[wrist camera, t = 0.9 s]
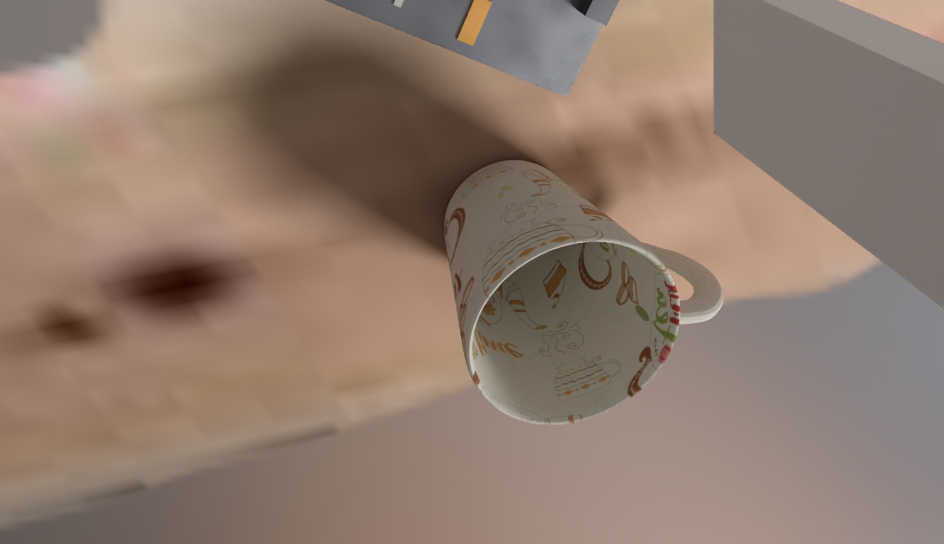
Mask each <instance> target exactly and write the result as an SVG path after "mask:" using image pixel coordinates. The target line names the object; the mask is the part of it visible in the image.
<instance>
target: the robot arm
mask: <svg viewBox="0 0 944 544" xmlns="http://www.w3.org/2000/svg"><path fill="white" fill-rule="evenodd" d="M714 133H715V134H716V135H717V136H719V137H720V138H721V139H723V140H724V141H725V142H727V143H728V144H729V145H731V146H732V147H733V148H734V149H736V150H737V151H738V152H740V153H741V154H742V155H744V156H745V157H746V158H747V159H749V160H750V161H751V162H753V163H754V164H755V165H757V166H758V167H759V168H761V169H762V170H763V171H764V172H766V173H767V174H768V175H770V176H771V177H772V178H774V179H775V180H776V181H778V182H779V183H780V184H781V185H783V186H784V187H785V188H787V189H788V190H789V191H791V192H792V193H793V194H795V195H796V196H797V197H798V198H800V199H801V200H802V201H804V202H805V203H806V204H808V205H809V206H810V207H812V208H813V209H814V210H815V211H817V212H818V213H819V214H821V215H822V216H823V217H825V218H826V219H827V220H828V221H830V222H831V223H832V224H834V225H835V226H836V227H838V228H839V229H840V230H842V231H843V232H844V233H845V234H847V235H848V236H849V237H851V238H852V239H853V240H855V241H856V242H857V243H859V244H860V245H861V246H862V247H864V248H865V249H866V250H868V251H869V252H870V253H872V254H873V255H874V256H876V257H877V258H878V259H879V260H881V261H882V262H883V263H885V264H886V265H887V266H889V267H890V268H891V269H893V270H894V271H895V272H897V273H898V274H899V275H900V276H902V277H903V278H904V279H906V280H907V281H908V282H909V283H911V284H912V285H914V286H915V287H916V288H918V289H919V290H920V291H921V292H923V293H924V294H925V295H926V296H928V297H929V298H930V299H932V300H933V301H935V302H936V303H937V304H938V305H940V306H941V307H942V308H943V309H944V43H941V42H939V41H936V40H934V39H931V38H929V37H926V36H924V35H921V34H919V33H916V32H914V31H911V30H909V29H906V28H904V27H902V26H899V25H897V24H894V23H892V22H889V21H887V20H884V19H882V18H879V17H877V16H874V15H872V14H869V13H867V12H864V11H862V10H859V9H857V8H854V7H852V6H849V5H847V4H844V3H842V2H840V1H837V0H714Z"/></svg>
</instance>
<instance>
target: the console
mask: <svg viewBox="0 0 944 544" xmlns="http://www.w3.org/2000/svg"><path fill="white" fill-rule="evenodd" d="M326 1H328V2H331V3H333V4H336V5H338V6H341V7H343V8H346V9H348V10H351V11H353V12H356V13H358V14H361V15H363V16H366V17H368V18H371V19H373V20H376V21H378V22H381V23H383V24H386V25H388V26H391V27H393V28H396V29H398V30H401V31H403V32H406V33H408V34H411V35H413V36H416V37H418V38H421V39H423V40H426V41H428V42H431V43H433V44H436V45H438V46H441V47H443V48H446V49H448V50H451V51H453V52H456V53H458V54H461V55H463V56H466V57H468V58H471V59H473V60H476V61H478V62H481V63H483V64H486V65H488V66H491V67H493V68H496V69H498V70H501V71H503V72H506V73H508V74H511V75H513V76H516V77H518V78H521V79H523V80H526V81H528V82H531V83H533V84H536V85H538V86H541V87H543V88H546V89H548V90H551V91H553V92H556V93H558V94H561V95H563V96H566V97H567V95H568V93H569V91H570V89H571V87H572V85H573V83H574V81H575V79H576V77H577V75H578V73H579V71H580V69H581V67H582V65H583V63H584V61H585V59H586V57H587V55H588V53H589V51H590V49H591V47H592V45H593V43H594V41H595V39H596V37H597V35H598V33H599V31H600V29H601V27H602V25H603V24H604V25H606V26H607V24H608V22H609V20H610V18H611V16H612V14H613V12H614V10H615V8H616V6H617V4H618V2H619V0H326Z"/></svg>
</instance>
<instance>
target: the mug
mask: <svg viewBox="0 0 944 544" xmlns="http://www.w3.org/2000/svg"><path fill="white" fill-rule="evenodd" d="M444 233H445V242H446V248H447V254H448V260H449V266H450V272H451V278H452V284H453V290H454V296H455V302H456V309H457V315H458V321H459V327H460V333H461V339H462V345H463V351H464V355H465V360H466V364H467V367H468V370H469V373H470V375H471V378H472V380H473V382H474V384H475V385H476V387H477V389H478V390H479V391H480V393H481V394H482V395H483V396H484V398H485V399H486V400H487V401H488V402H489V403H490V404H491V405H493V406H494V407H495V408H497V409H498V410H499V411H501V412H503V413H505V414H507V415H508V416H510V417H513V418H515V419H518V420H521V421H525V422H529V423H534V424H544V425H555V424H557V425H558V424H568V423H574V422H578V421H583V420H586V419H589V418H592V417H595V416H598V415H601V414H603V413H605V412H607V411H609V410H611V409H613V408H615V407H617V406H619V405H621V404H622V403H624V402H625V401H627V400H628V399H630V398H631V397H632V396H634V395H635V394H636V393H637V392H639V391H640V390H641V389H642V388H643V387H644V386H645V385H646V384H647V383H648V382H649V381H650V380H651V379H652V378H653V376H654V375H655V374H656V373H657V372H658V371H659V369H660V368H661V366H662V365H663V363H664V362H665V360H666V358H667V357H668V355H669V353H670V351H671V349H672V347H673V344H674V341H675V338H676V335H677V332H678V327H679V324H690V323H697V322H703V321H706V320H709V319H711V318H712V317H713V316H715V315H716V313H717V312H718V311H719V310H720V308H721V306H722V303H723V290H722V287H721V285H720V283H719V282H718V280H717V279H716V278H715V276H714V275H713V274H712V273H711V272H710V271H709V270H708V269H706V268H705V267H704V266H702V265H701V264H699V263H698V262H696V261H694V260H692V259H690V258H689V257H686V256H684V255H682V254H679V253H676V252H673V251H670V250H667V249H663V248H660V247H656V246H653V245H649V244H646V243H642V242H640V241H639V240H637V239H636V238H635V237H634V236H632V235H631V234H630V233H628V232H627V231H626V230H625V229H623V228H622V227H621V226H620V225H618V224H617V223H616V222H614V221H613V220H612V219H611V218H609V217H608V216H607V215H606V214H604V213H603V212H602V211H600V210H599V209H598V208H597V207H595V206H594V205H593V204H592V203H590V202H589V201H588V200H587V199H585V198H584V197H583V196H581V195H580V194H579V193H578V192H576V191H575V190H574V189H573V188H571V187H570V186H569V185H567V184H566V183H565V182H564V181H562V180H561V179H560V178H559V177H557V176H556V175H555V174H553V173H552V172H551V171H549V170H548V169H546V168H544V167H542V166H540V165H538V164H535V163H532V162H528V161H522V160H506V161H501V162H497V163H493V164H490V165H488V166H485V167H483V168H481V169H480V170H478V171H476V172H475V173H473V174H472V175H471V176H469V177H468V178H467V179H466V180H465V181H464V182H463V183H462V184H461V185H460V186H459V187H458V189H457V190H456V191H455V193H454V194H453V196H452V198H451V200H450V202H449V204H448V207H447V210H446V214H445V221H444ZM667 268H668V269H670V270H672V271H674V272H676V273H677V274H679V275H681V276H682V277H684V278H685V279H686V280H687V281H689V282H690V283H691V285H692V286H693V289H694V293H693V295H692V297H691V298H690V299H688V300H684V301H679V296H678V292H677V289H676V286H675V283H674V281H673V278H672V277H671V275H670V273H669V271H668V270H667Z"/></svg>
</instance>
